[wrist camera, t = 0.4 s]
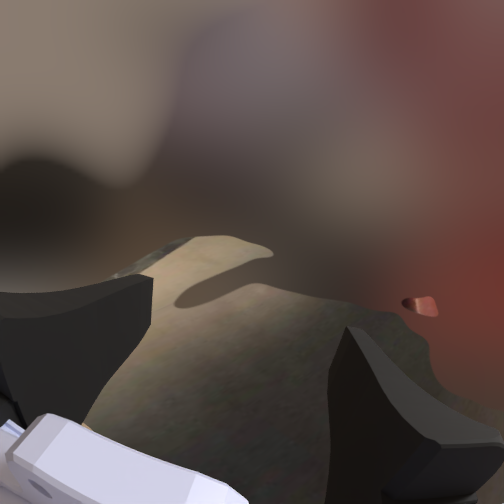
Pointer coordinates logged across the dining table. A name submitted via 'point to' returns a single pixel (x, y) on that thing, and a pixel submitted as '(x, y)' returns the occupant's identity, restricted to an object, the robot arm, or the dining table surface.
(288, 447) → the dining table surface
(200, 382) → the dining table surface
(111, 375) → the robot arm
